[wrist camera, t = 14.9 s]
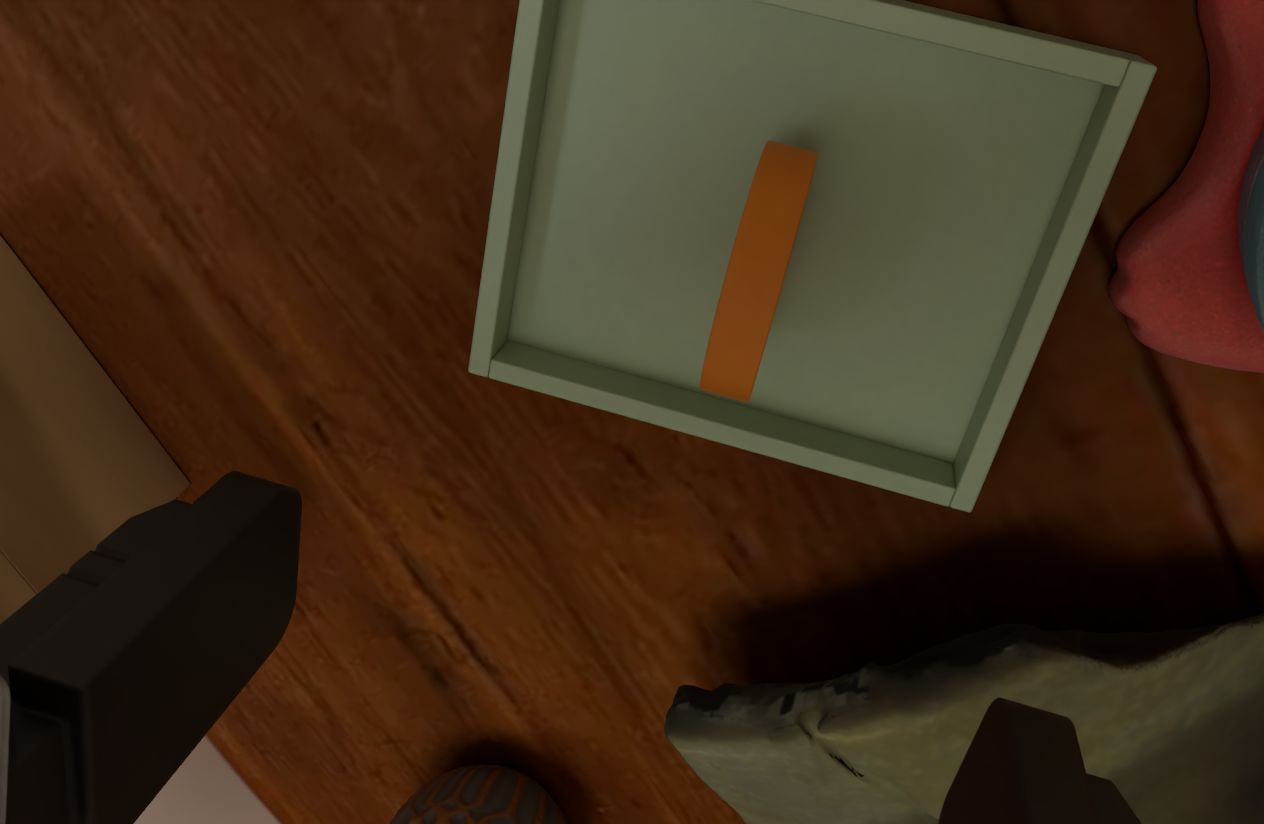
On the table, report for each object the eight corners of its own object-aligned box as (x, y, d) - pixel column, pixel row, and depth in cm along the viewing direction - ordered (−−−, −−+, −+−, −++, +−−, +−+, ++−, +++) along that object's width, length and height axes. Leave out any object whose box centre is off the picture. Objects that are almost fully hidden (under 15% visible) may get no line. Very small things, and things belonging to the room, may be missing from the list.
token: (726, 315, 29) (684, 437, 24) (779, 105, 26) (743, 197, 21) (768, 327, 29) (735, 451, 24) (828, 117, 25) (803, 213, 21)
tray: (489, 347, 31) (467, 372, 29) (553, -82, 26) (530, -81, 24) (966, 479, 30) (971, 514, 28) (1139, 55, 24) (1159, 66, 23)
